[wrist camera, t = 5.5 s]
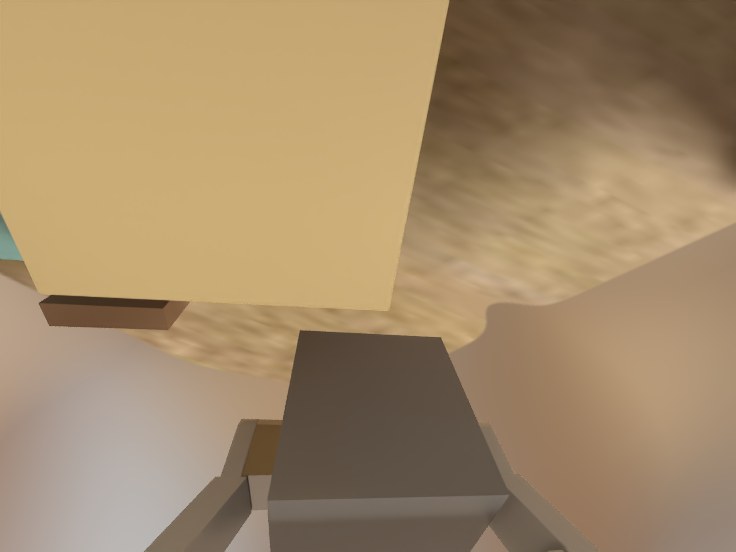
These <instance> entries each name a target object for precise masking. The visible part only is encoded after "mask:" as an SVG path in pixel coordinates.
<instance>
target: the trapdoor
mask: <svg viewBox="0 0 736 552" xmlns="http://www.w3.org/2000/svg"><path fill="white" fill-rule="evenodd" d="M448 5H449V0H0V259H8V260H23V261H24V263H25V265H26V267H27V269H28V271H29V274H30V276H31V278H32V280H33V282H34V284H35V286H36V288H37V290H38V293H39V294H49V295H70V296H90V297H111V298H132V299H153V300H174V301H194V302H215V303H236V304H257V305H278V306H298V307H319V308H340V309H361V310H382V311H389V306H390V301H391V296H392V291H393V286H394V281H395V276H396V271H397V266H398V260H399V255H400V250H401V245H402V240H403V235H404V230H405V225H406V220H407V215H408V209H409V204H410V199H411V194H412V189H413V184H414V179H415V174H416V169H417V163H418V158H419V153H420V148H421V143H422V138H423V133H424V128H425V123H426V117H427V112H428V107H429V102H430V97H431V92H432V87H433V82H434V77H435V72H436V66H437V61H438V56H439V51H440V46H441V41H442V36H443V31H444V26H445V20H446V15H447V10H448Z"/></svg>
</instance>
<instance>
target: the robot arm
mask: <svg viewBox="0 0 736 552" xmlns="http://www.w3.org/2000/svg"><path fill="white" fill-rule="evenodd" d="M282 421H283V420H259V419H241V421H240V423H239V424H238V427H237V430H236V433H235V436H234V439H233V442H232V445H231V447H230V450H229V453H228V457H227V460H226V463H225V465H224V468H223V471H222V474H221V477H215V478H214V479H213V480H212V481H211V482H210V483H209V484H208V485H207V486H206V487H205V488H204V489H203V491H201V492H200V493H199V494H198V496H197V497H196V498H195V499H194V500H193V501H192V502H191V503H190V504H189V505H188V506H187V507H186V508H185V509H184V510H183V511H182V512H181V513H180V514H179V516H177V518H176V519H175V520H174V521H173V522H172V523H171V524H170V525H169V526H168V527H167V528H166V529H165V530H164V531H163V532H162V533H161V534H160V535H159V536H158V537H157V538H156V539H155V541H154V542H153V543H152V544H151V545H150V546H149V547H148V548H147V549H146V550H145V551H144V552H224V551H225V550H226V548H227V547H228V546H229V544H230V543H231V541H232V540H233V538H234V537H235V535H236V534H237V533H238V531H239V530H240V528H241V527H242V525H243V524H244V523H245V521H246V520H247V518H248V517H249V515H250V514H251V510H265V509H268V508H267V498H268V493H269V488H270V483H271V478H272V472H273V467H274V462H275V457H276V452H277V447H278V441H279V436H280V431H281V426H282ZM478 424H479V426H480V428H481V430H482V433H483V435H484V437H485V440H486V442H487V444H488V446H489V449H490V451H491V453H492V456H493V458H494V460H495V462H496V465H497V467H498V469H499V472H500V474H501V476H502V478H503V481H504V483H505V485H506V488H507V490H508V492H509V494H510V495H509V497H508V498H507V500H506V501H505V503H504V504H503V505H502V507H501V508H500V510H499V511H498V513H497V514H496V515H495V517H494V518H493V520H492V521H491V522H490V524H489V526H490V527H491V529H492V530H493V531H494V532H495V534H496V535H497V536H498V538H499V539H500V540H501V542H502V543H503V544H504V546H505V547H506V548H507V550H508V551H509V552H600V551H599V550H598V548H597V547H596V546H595V545H594V544H593V543H592V542H591V541H590V540H589V539H588V538H587V537H586V536H585V535H584V534H583V533H582V532H580V531H579V530H578V529H577V528H576V527H575V526H574V525H573V524H572V523H571V522H570V521H569V520H568V519H567V518H566V517H564V516H563V515H562V514H561V513H560V512H559V511H558V510H557V509H556V508H555V507H554V506H553V505H552V504H551V503H549V501H547V500H546V499H545V498H544V497H543V496H542V495H541V494H540V493H539V492H538V491H537V490H536V489H535V488H533V487H532V486H531V485H530V484H529V483H528V482H527V481H526V480H525V479H524V478H523V477H521V475H520V474H517V473H514V472H513V470H512V467H511V465H510V463H509V461H508V459H507V457H506V455H505V453H504V451H503V449H502V447H501V445H500V443H499V441H498V438H497V436H496V434H495V432H494V430H493V428H492V426H491V425H490V424H489V423H487V422H478Z"/></svg>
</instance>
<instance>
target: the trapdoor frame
mask: <svg viewBox="0 0 736 552" xmlns="http://www.w3.org/2000/svg"><path fill="white" fill-rule="evenodd" d="M189 302H190V301H174V300H153V299H132V298H111V297H90V296H70V295H51V296H49V297H48V298H46V299H44V300H43V301H41V302H40V303H39V305H40V307H41V309H42V311H43V313H44V315H45V318H46V320H47V322H48V324H49V326H68V327H98V328H99V327H100V328H127V329H156V330H168V329H169V328H170V327H171V326H172V324H173V323H174V322H175V320H176V319H177V318H178V317H179V315H180V314H181V313H182V311H183V310H184V309H185V308H186V306H187V305H188V304H189Z"/></svg>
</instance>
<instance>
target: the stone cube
mask: <svg viewBox="0 0 736 552" xmlns="http://www.w3.org/2000/svg"><path fill="white" fill-rule="evenodd" d="M509 495H510V494H509V492H508V490H507V488H506V485H505V483H504V481H503V478H502V476H501V474H500V472H499V469H498V467H497V465H496V462H495V460H494V458H493V456H492V453H491V451H490V449H489V446H488V444H487V442H486V440H485V437H484V435H483V433H482V430H481V428H480V426H479V424H478V421H477V419H476V417H475V415H474V412H473V410H472V408H471V405H470V403H469V401H468V399H467V397H466V394H465V392H464V389H463V387H462V385H461V383H460V380H459V378H458V376H457V374H456V371H455V369H454V367H453V364H452V362H451V360H450V358H449V355H448V353H447V351H446V348H445V346H444V344H443V341H442V339H441V337H421V336H401V335H381V334H361V333H341V332H321V331H302V330H300V333H299V338H298V343H297V349H296V354H295V359H294V364H293V369H292V374H291V380H290V385H289V390H288V395H287V400H286V405H285V411H284V416H283V421H282V426H281V431H280V436H279V441H278V447H277V452H276V457H275V462H274V467H273V472H272V478H271V483H270V488H269V493H268V498H267V508H268V522H269V536H270V549H271V552H470V551H471V549H472V548H473V547H474V545H475V544H476V542H477V541H478V540H479V538H480V537H481V535H482V534H483V532H484V531H485V530H486V528H487V527H488V525H489V524H490V522H491V521H492V520H493V518H494V517H495V515H496V514H497V513H498V511H499V510H500V508H501V507H502V505H503V504H504V503H505V501H506V500H507V498H508V497H509Z"/></svg>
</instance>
